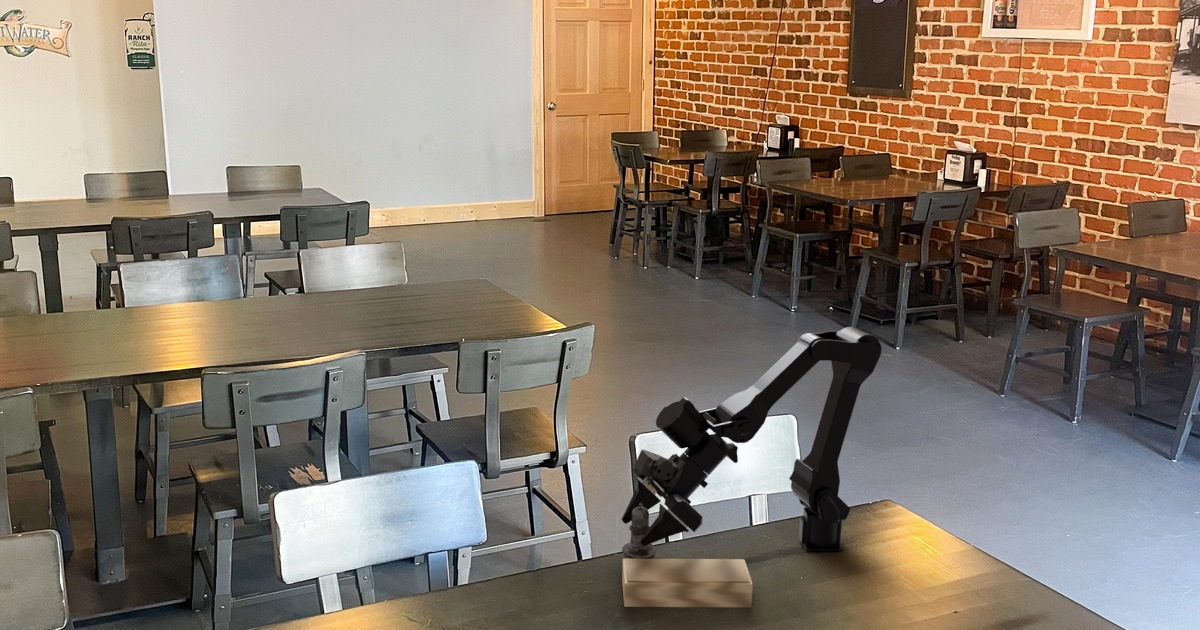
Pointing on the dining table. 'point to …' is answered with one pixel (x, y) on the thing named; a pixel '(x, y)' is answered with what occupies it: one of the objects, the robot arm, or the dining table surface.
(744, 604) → the tan wooden block
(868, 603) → the dining table surface
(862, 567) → the dining table surface
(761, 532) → the dining table surface
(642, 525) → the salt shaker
